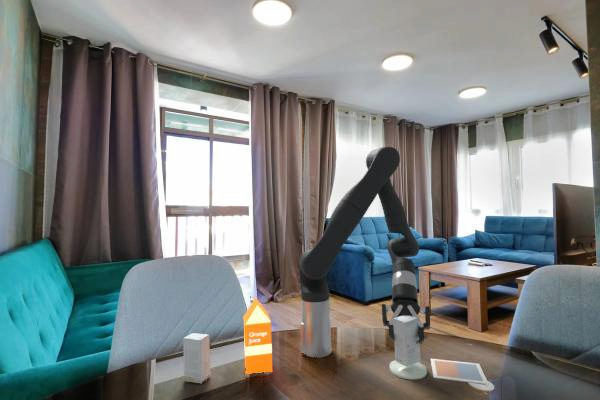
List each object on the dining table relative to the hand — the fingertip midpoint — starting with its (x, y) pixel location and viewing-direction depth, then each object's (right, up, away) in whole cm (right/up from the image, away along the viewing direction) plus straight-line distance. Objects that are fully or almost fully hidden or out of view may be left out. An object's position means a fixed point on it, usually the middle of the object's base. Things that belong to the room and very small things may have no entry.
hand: (406, 341), depth 87 cm
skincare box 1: (-59, -11, 0) cm, 60 cm away
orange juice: (-42, -11, +5) cm, 44 cm away
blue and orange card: (+14, -8, 0) cm, 16 cm away
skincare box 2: (+1, -6, +1) cm, 7 cm away
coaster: (+1, -9, +1) cm, 9 cm away
